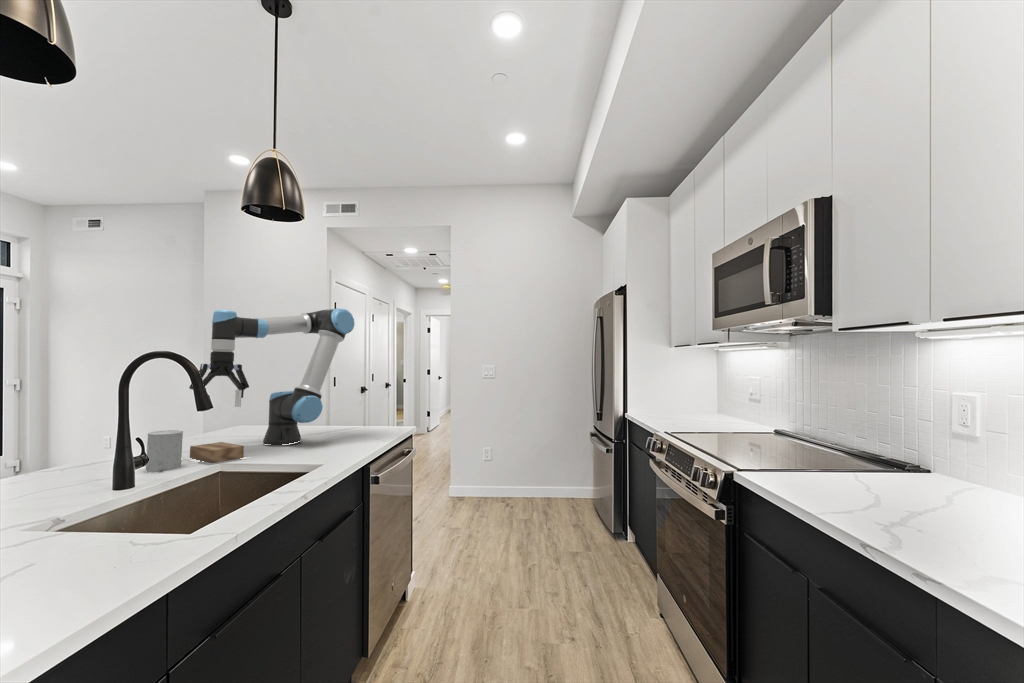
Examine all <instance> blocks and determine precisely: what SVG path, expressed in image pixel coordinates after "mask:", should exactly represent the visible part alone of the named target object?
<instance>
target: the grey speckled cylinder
mask: <svg viewBox="0 0 1024 683" xmlns="http://www.w3.org/2000/svg"><path fill="white" fill-rule="evenodd" d="M183 433H184V430H177V429H176V430H175V429H174V430H173V429H172V430H167V429H166V430H157V431H155V430H154V431H151V432H150V431H149V432H147V441H146V443H147V447H146V457H147V456H148V458H149V461H148V463H147V464H146V463H145V465H146V466H145V470H146V471H147V472H146V471H145V472H146V473H149V472H159V473H164V472H166V471H172V470H176V469H180V468H181V467H182V460H181V458H183V456H182V452H183V439H184V438H183V436H184V435H183Z"/></svg>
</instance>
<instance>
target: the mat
mask: <svg viewBox="0 0 1024 683" xmlns="http://www.w3.org/2000/svg"><path fill="white" fill-rule="evenodd" d="M241 460H242V459H234V460H228V461H223V462H217V463H209V462H202V461H200V462H198V463H197V464H200V465H204V466H214V465H219V464H220V465H221V464H225V463H226V464H227V463H233V462H236V461H241Z"/></svg>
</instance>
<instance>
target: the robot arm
mask: <svg viewBox="0 0 1024 683" xmlns="http://www.w3.org/2000/svg"><path fill="white" fill-rule="evenodd" d="M237 314H238V313H237V312H236V311H235V310H230V309H229V310H226V309H217V310H214V312H213V315H212V321H211V327H212V329H211V330H212V331H211V343H210V344H211V345H210V347H211V348H210V350H211V351H210V358H209V360H210V363H209V364H208V363H201V364H200V367H199V370H198V372H200V375H201V377H202V380H203V384H204V388H205V387H206V386H207V385H208V384H209V383H210V382H211V381H212V380H213V379H214V378H216V377H223V376H224V377H227V378H228V379H229V380H230V381H231V382H232V384H233V385H234V386H235V387H236V388H237V389H235V396H234V397H235V399H234V407H235V408H241V407H242V399H244V391H245V390H246V389H248V388H249V387H250V385H249V382H248V379H247V378H246V376H245V373H244V371H243V365H242V364H237V363H236V364H234V362H235V353H234V352H233V351H235V347H236V344H235V343H236V341H235V340H236V339H239V338H240V339H242V338H246V339H247V338H256V339H264V338H265V337H267V336H271V335H281V334H283V335H284V334H291V333H292V334H293V333H302V334H305V335H306V334H318V335H319V338H318V341H317V342H316V346H315V348H314V350H313V353H312V355H311V357H310V360H309V362H308V364H307V367H306V370H305V373H304V375H303V377H302V379H301V382H300V384H299V385H298V386H296V387H294V390H290V391H289V390H288V391H285V390H284V391H278V392H277V391H275V392H271V394H270V395H269V399H268V403H269V404H268V405H269V406H268V428H267V429H266V431H265V435H264V437H263V440H262V442H263V443H264V444H271V445H282V444H289V443H294V442H298V441H300V440H301V441H302V437H301V434H300V430H299V427H298V426H299V425H298V423H300V424H305V423H311V422H314V421H316V420H317V419H318V418H319V417H320V415H321V414H322V411H323V403H322V401H321V399H322V397H323V395H322V393H321V389H322V387H323V384H324V382H325V379H326V376H327V374H328V372H329V369H330V367H331V364H332V361H333V359H334V357H335V354H336V352H337V349H338V347H339V346H338V345H339V344H340V343H341V342H343V341H344V340H345V337H346V335H347V334H350V333H351V332H352V331H353V330H354V329H355V328H354V327H355V318H354V317H353V314H352V313H351V312H350V311H349V310H348V309H345V308H338V307H337V308H330V309H321V310H315V311H312V312H304V313H301V314H300V315H292V316H291V315H290V316H288V315H287V316H274V317H273V316H272V317H259V318H258V317H255V318H251V317H249V318H248V317H239V316H238V315H237ZM208 370H210V371H209V372H208V373H207V371H208ZM233 370H235V373H236V374H235V373H234V371H233ZM206 374H207V375H206ZM204 376H205V377H204ZM189 390H192V391H194V390H193V386H192V383H191V384H190V385H189ZM263 443H262V444H263Z"/></svg>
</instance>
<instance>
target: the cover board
mask: <svg viewBox="0 0 1024 683" xmlns="http://www.w3.org/2000/svg"><path fill="white" fill-rule="evenodd" d="M189 447H190V448H189V457H190V458H192V459H196V460H200V461H204V462H209V463H217V462H223V461H228V460H234V459H240V458H243V456H245V455H244V453H245V445H241V444H235V443H229V442H224V441H223V442H222V441H219V442H218V441H217V442H212V443H204V444H196V445H190V446H189Z"/></svg>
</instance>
